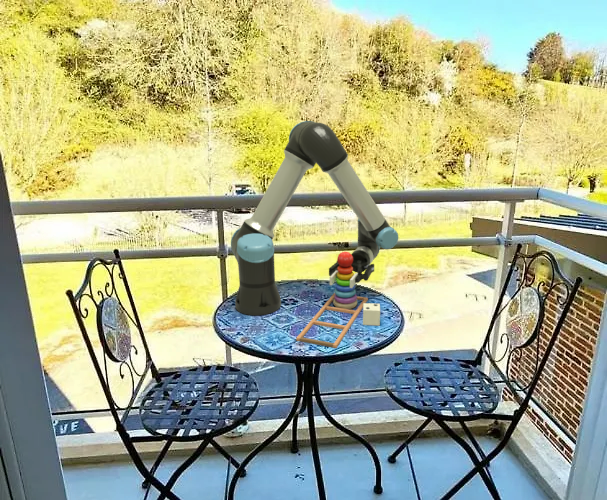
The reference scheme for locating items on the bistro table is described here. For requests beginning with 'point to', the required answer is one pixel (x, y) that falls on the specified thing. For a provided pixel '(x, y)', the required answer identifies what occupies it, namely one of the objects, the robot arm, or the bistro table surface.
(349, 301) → the stacking toy
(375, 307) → the die
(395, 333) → the bistro table surface
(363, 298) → the ladder
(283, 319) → the bistro table surface
